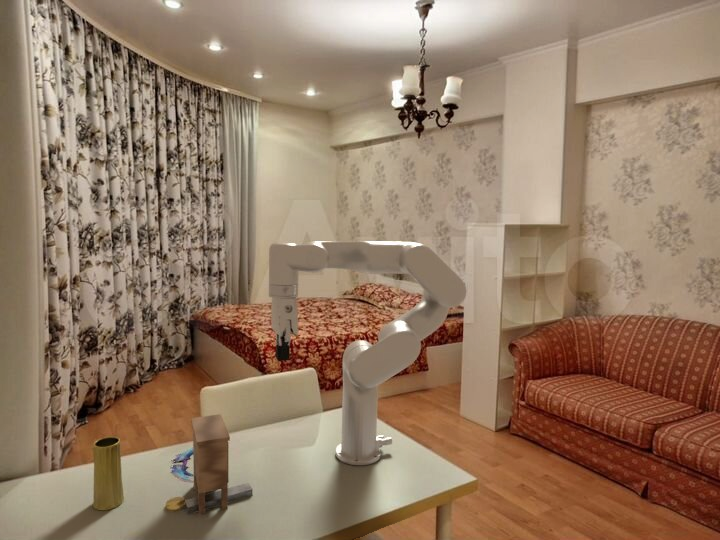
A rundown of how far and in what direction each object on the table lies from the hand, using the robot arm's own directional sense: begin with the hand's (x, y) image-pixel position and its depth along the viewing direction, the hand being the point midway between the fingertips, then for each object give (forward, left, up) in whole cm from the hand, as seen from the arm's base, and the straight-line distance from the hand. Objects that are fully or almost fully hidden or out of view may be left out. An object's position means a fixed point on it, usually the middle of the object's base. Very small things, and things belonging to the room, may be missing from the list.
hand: (282, 359), depth 127 cm
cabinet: (+20, +12, -27) cm, 36 cm away
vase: (+41, +6, -27) cm, 50 cm away
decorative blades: (+24, -6, -28) cm, 37 cm away
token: (+27, +13, -27) cm, 41 cm away
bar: (+18, +14, -28) cm, 36 cm away
